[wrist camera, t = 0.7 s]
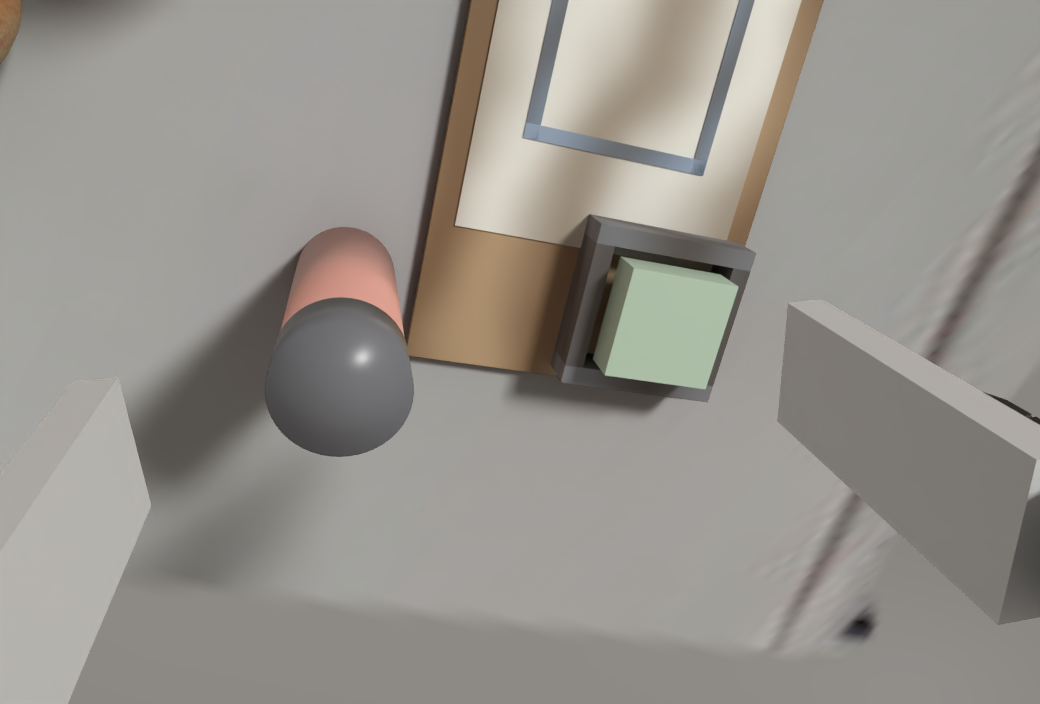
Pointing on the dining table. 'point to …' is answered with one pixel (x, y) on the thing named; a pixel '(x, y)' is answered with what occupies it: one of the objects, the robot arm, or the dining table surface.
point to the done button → (663, 323)
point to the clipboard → (597, 169)
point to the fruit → (9, 24)
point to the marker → (341, 349)
